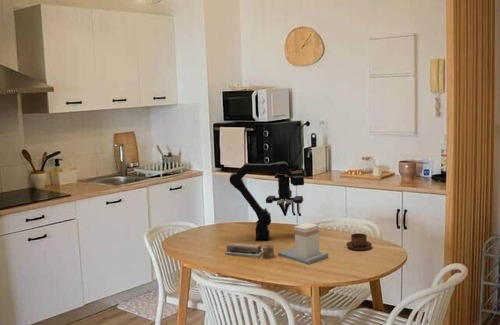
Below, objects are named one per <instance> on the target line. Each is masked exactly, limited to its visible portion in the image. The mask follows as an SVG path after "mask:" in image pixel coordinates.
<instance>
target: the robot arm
mask: <svg viewBox="0 0 500 325" xmlns="http://www.w3.org/2000/svg"><path fill="white" fill-rule="evenodd" d="M249 172H265V173H266V172H271V173H275V174H276V175H274V176H273V177H274V179H277V184H278V186H277V188H278V192H277V195H278V197H276V195H267V197H266V198H265V203H266V204H272V203H273V202H276V205H278V206H279V208H280V209H281V211H282V214H283V215H284V217H286V216H287V214H288V211H289V208H290V206H291V205H292V204H293V202H294V203H295V204H303V202H304V196H303V195H295V196H294V197H292V195H293V194H292V192H293V191H292V190H291V188H290V185H292V186H293V187H297V186H305V179H304V173H303V171H299V172H293V171H292V170H291V169H290V167H289V164H288V162H286V161H277V162H272V163H249V162H245V163H244V164H243V165H242V166H241V167H240V168H239V169H238V170H237V171H236V172H232V173H231V174H230V176H229V183H230V184H231V186H233V187H234V189H236V191H237V190H238V192H240V194H241V195H242V196H243V198H244V199H245V201H246V202H247V203H248V204H249V206H250V207H251V208H252V210H253V211H254V213H255V215H256V217H257V219H258V220H257V221H256V222H255V223H256V225H255V240H254V241H255V242H256V241H260V242H266V241H268V240H269V239H270V238H271V236H270V234H271V232H270V229H269V226H270V224H271V222H272V220H271V219H272V218H271V217H272V216H271V213H270V212H269V211H268V209H267V207H265V208H263V207H261V205H260V204H259V203H258V201H257V200H256V198H255V197H254V196H253V194H252V192H250V190H249V189H248V188H247V186H246V184H245V182H244V177H245V176H246V175H247V174H248V173H249Z"/></svg>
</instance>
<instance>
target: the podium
mask: <svg viewBox="0 0 500 325" xmlns="http://www.w3.org/2000/svg"><path fill="white" fill-rule="evenodd" d="M277 256H279V257H284V258H286V259H289V260H292V261H296V262H300V263H303V264H306V265H310V264H311V265H312V264H313V263H316V262H319V261H322V260H324V259H328V258H329V252H328V251H327V252H324V253H323V252H320V251H319V255H316V256H314V257H311V258H308V259H305V258H302V257H298V256H296V250H295V246H294V247H292V248H289V249H285V250H283V251H279V252H277Z"/></svg>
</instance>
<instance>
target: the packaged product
mask: <svg viewBox="0 0 500 325" xmlns="http://www.w3.org/2000/svg"><path fill="white" fill-rule="evenodd" d="M262 248H263V245H260V244H252V243H251V244H250V243H244V242H243V243H241V242H230V243H229V244H228V245H226V251H225V253H224V255H226V256H235V257H236V256H237V257H244V258H254V259H255V258H256V259H257V258H258V259H259V258H260V257H261V256H263V249H262Z"/></svg>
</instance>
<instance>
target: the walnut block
mask: <svg viewBox="0 0 500 325" xmlns="http://www.w3.org/2000/svg"><path fill="white" fill-rule="evenodd" d="M274 249H275V248H274V244H263V245H262V250H263V255H262V256H263V258H262V259H275V250H274Z"/></svg>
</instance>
